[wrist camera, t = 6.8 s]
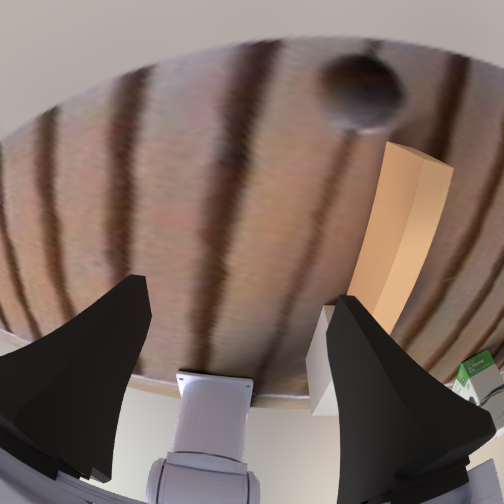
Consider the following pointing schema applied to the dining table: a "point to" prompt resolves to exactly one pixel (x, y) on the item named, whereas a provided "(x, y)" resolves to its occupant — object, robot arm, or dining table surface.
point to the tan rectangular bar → (399, 230)
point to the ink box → (483, 387)
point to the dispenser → (321, 369)
